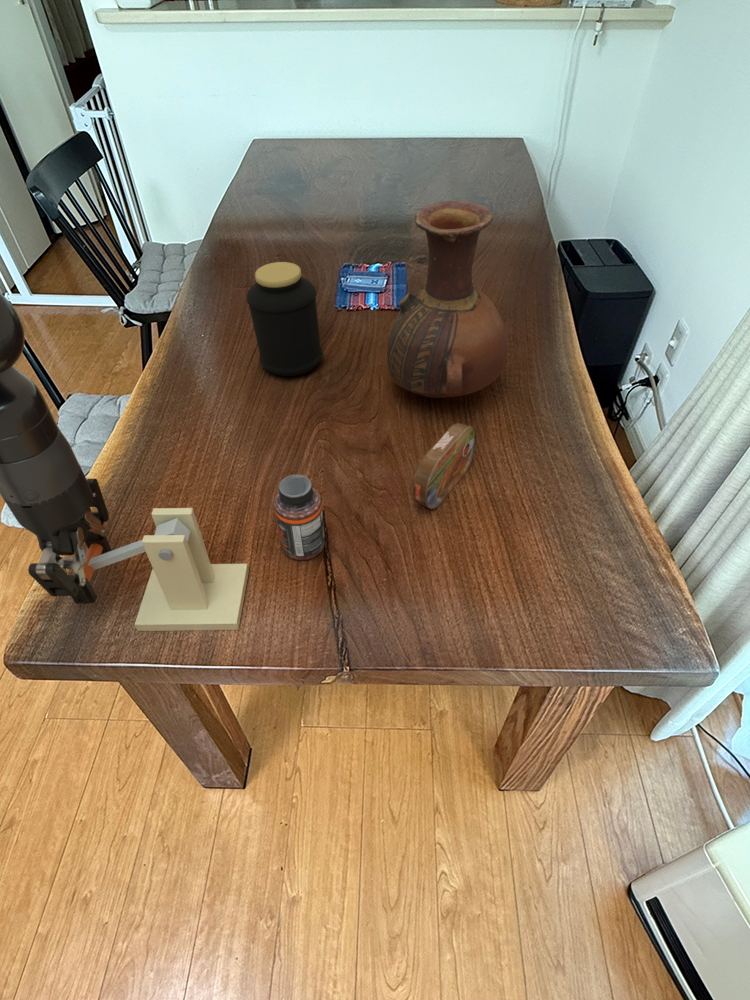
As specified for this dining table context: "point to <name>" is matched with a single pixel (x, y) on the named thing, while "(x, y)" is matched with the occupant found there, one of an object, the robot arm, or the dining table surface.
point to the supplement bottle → (299, 518)
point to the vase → (448, 312)
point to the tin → (444, 465)
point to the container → (285, 319)
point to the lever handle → (128, 548)
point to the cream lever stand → (188, 582)
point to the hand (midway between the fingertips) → (96, 578)
